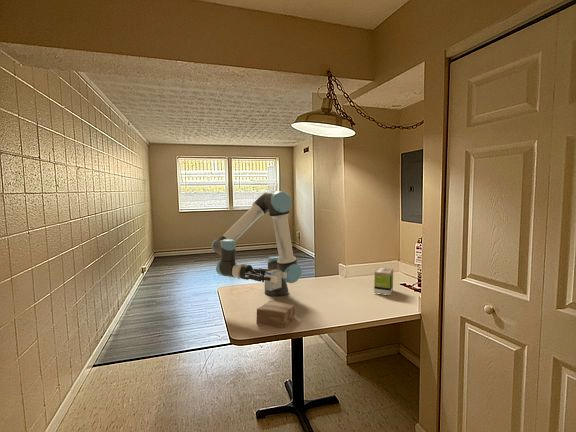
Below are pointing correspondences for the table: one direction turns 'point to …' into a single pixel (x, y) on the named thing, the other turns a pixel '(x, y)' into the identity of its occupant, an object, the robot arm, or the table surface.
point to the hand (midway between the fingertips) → (281, 277)
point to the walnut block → (275, 314)
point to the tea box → (383, 281)
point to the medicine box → (273, 285)
